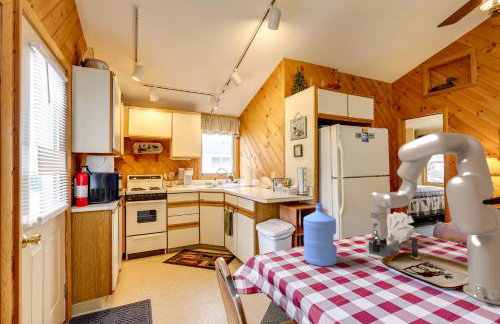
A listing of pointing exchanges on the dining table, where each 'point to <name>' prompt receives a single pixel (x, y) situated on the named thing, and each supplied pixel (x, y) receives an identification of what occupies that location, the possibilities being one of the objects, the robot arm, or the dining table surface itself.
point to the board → (376, 256)
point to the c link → (385, 249)
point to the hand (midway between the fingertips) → (380, 249)
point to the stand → (414, 247)
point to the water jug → (319, 238)
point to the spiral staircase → (399, 227)
